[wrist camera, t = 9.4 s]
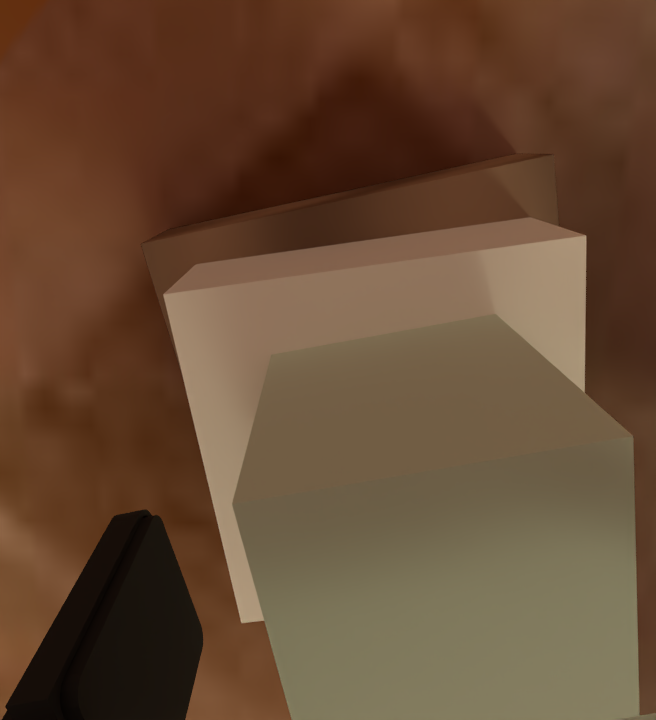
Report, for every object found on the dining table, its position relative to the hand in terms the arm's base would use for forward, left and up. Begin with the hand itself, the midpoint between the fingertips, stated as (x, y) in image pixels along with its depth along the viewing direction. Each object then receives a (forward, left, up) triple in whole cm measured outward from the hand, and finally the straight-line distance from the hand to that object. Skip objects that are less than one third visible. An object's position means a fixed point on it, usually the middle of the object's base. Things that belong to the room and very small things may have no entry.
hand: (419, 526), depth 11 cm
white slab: (0, 0, -7) cm, 7 cm away
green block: (0, 0, -3) cm, 3 cm away
